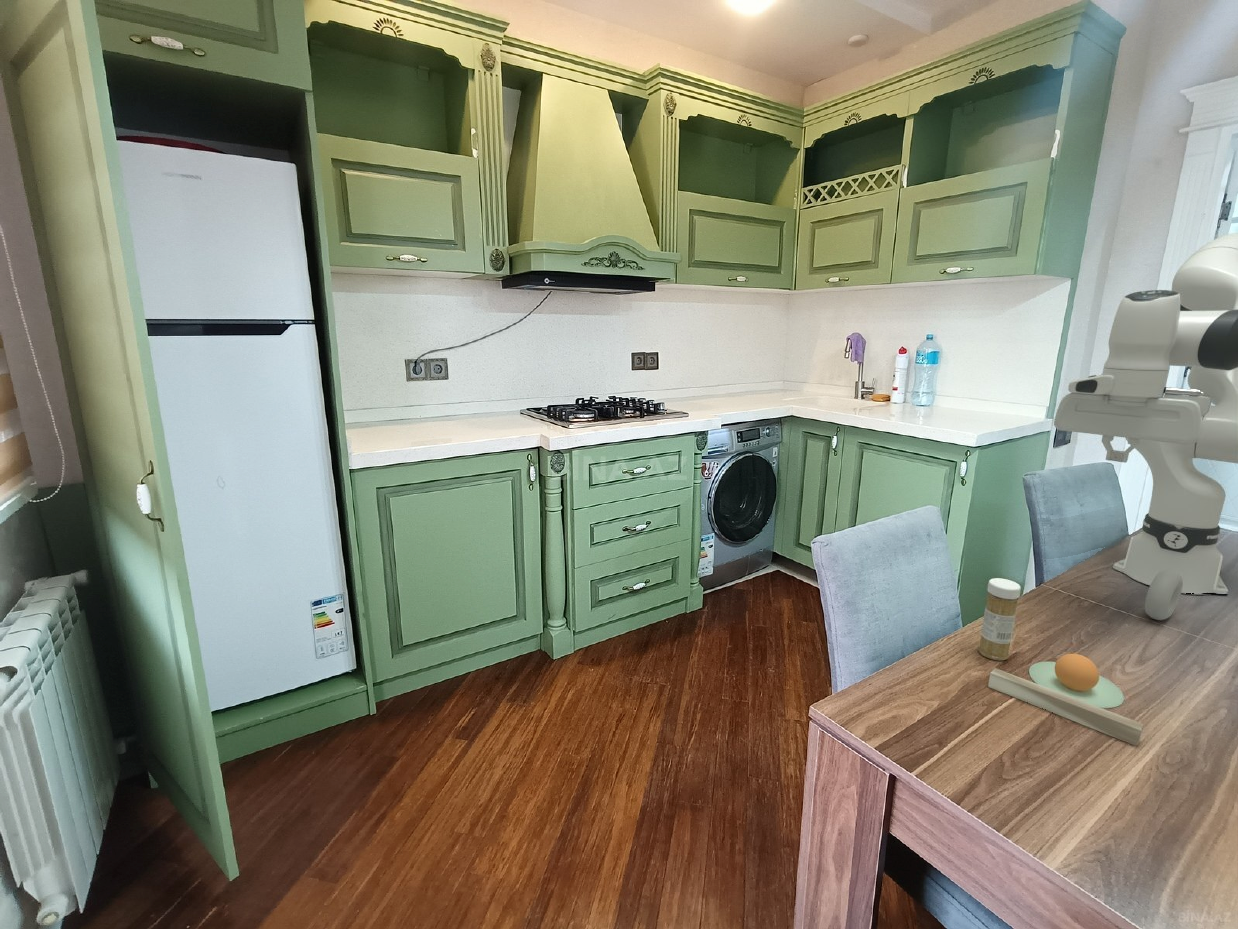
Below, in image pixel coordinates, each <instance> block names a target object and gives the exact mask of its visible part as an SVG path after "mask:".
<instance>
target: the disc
mask: <svg viewBox="0 0 1238 929" xmlns="http://www.w3.org/2000/svg"><path fill="white" fill-rule="evenodd" d="M1056 662H1057V661H1039V662H1035V663H1034V664H1032V665H1030V666H1029V670H1028V673H1029V674H1028V675H1029V677H1030V678H1031V679H1032V682H1033V683H1036V684H1039V685H1041V686H1044V687H1047V688H1049V689H1052V690H1055V691H1057V692H1060V693H1063V694H1065V695H1068V696H1070V697H1073V698H1076V699H1078V700H1081V701H1084V702H1086V703H1089V704H1092V705H1094V706H1097V707H1100V708H1102V709H1113V708H1117V707H1119V706H1122V704H1123V703H1124V700H1125V696H1124V694H1123V692H1122V691H1121V689H1120V688H1119V687H1118V686H1117V685H1116V684H1115V683H1113V682H1112V681H1110V680H1109V679H1108V678H1105V677H1104V676H1102V675H1100V674H1099V681H1098V683H1097V685H1096V686H1095V687H1093V688H1092V689H1090V690H1086V691H1076V690H1073V689H1070V688H1068V687H1066V686H1065V685H1063V684H1062V683H1061V682H1060V681H1059V679H1058V678H1057V676H1056V674H1055V664H1056Z"/></svg>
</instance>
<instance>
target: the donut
mask: <svg viewBox="0 0 1238 929" xmlns="http://www.w3.org/2000/svg"><path fill="white" fill-rule="evenodd" d="M1182 587H1183V580H1182V577H1181V576H1180V575H1179V574H1178V573H1177V572H1176V571H1173V570H1164V571H1161V572H1159V573H1158V574H1157V575H1156V576H1155V578H1154V579H1153V581H1152V583H1151V585H1149V588H1148V591H1147V593H1146V596H1145V601H1144V610H1145V613H1146V614H1147V615H1148V616H1149V617H1150V618H1151V619H1153V620H1156V621H1164V620H1167V619H1168V618H1170V617H1171V616H1172V614H1173V613H1174V611H1175V610H1176V608H1177V606H1178V604H1179V601H1180V598H1181V594H1182V593H1181V592H1182Z"/></svg>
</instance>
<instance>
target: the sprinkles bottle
mask: <svg viewBox="0 0 1238 929" xmlns="http://www.w3.org/2000/svg"><path fill="white" fill-rule="evenodd" d="M1021 589H1022V586H1021V585H1020V584H1019V583H1017V582H1015V581H1014V580H1009V579H1006V578H1002V577H1001V578H998V577H996V578H994V577H993V578H991V579H989V581H988V584H987V598H986V603H985V604H986V605H985V608H984V615H983V619H982V626H981V634H980V635H981V636H980V642H979V645H978V649H977V650H978V652H979V653H980V654H981V655H982V656H984V657H986V658H987V659H989V660H994V661H999V662H1000V661H1005V660H1008V659H1009V657H1010V656H1009V650H1010V646H1011V642H1012V638H1013V631H1014V627H1015V621H1016V612H1017V606H1018V600H1019V598H1020V595H1021Z"/></svg>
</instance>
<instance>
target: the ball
mask: <svg viewBox="0 0 1238 929" xmlns="http://www.w3.org/2000/svg"><path fill="white" fill-rule="evenodd" d="M1055 662H1056V664H1055V674H1056V676H1057V678H1058V679H1059V681H1060V682H1061V683H1062V684H1063V685H1065V686H1066V687H1068V688H1070V689H1073V690H1076V691H1086V690H1090V689H1092V688H1093V687H1095V686H1096V685H1097V683H1098V681H1099V675H1100V672H1099V668H1098V666H1096V664H1095V663H1094V662H1093V661H1092V660H1091V659H1089V657H1086V656H1085V655H1081V654H1078V653H1066V654H1064V655H1061V656H1060V657H1058V659H1056V661H1055Z"/></svg>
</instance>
